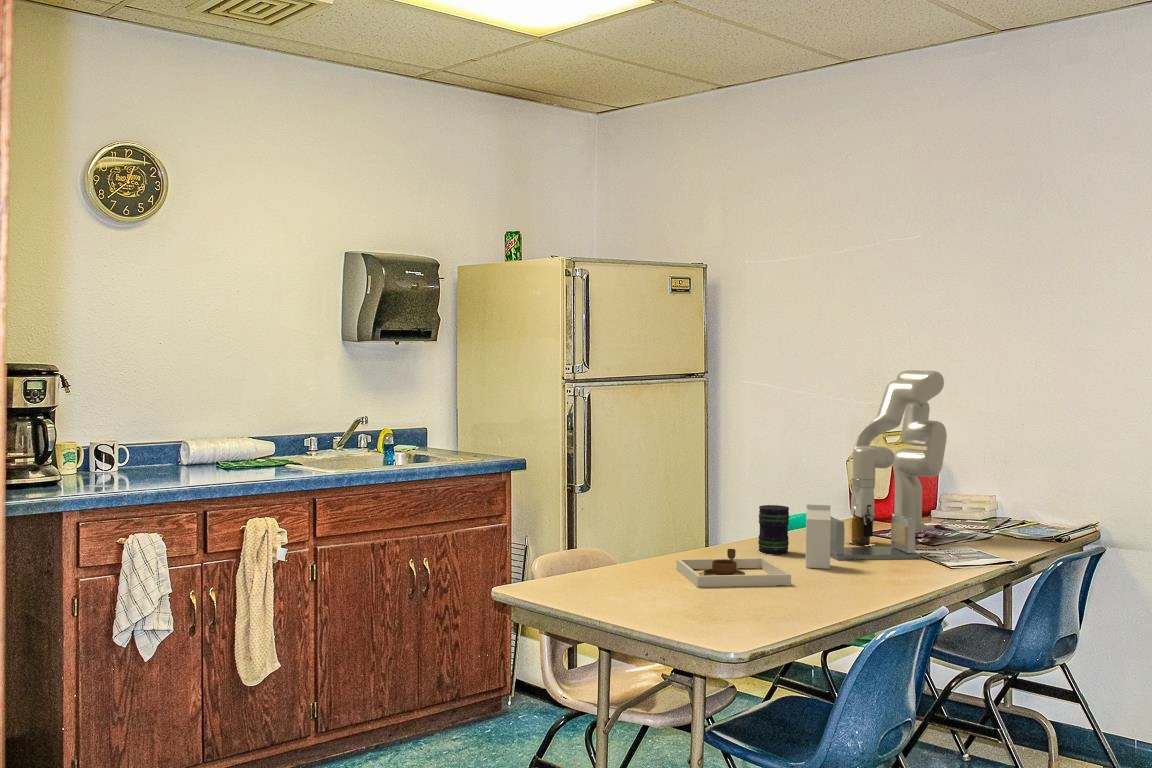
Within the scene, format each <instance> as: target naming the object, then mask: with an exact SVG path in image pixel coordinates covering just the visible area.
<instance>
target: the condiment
mask: <svg viewBox="0 0 1152 768" xmlns="http://www.w3.org/2000/svg"><path fill="white" fill-rule="evenodd" d="M853 515H854V516H853ZM853 515H852V519H851V520H852V521H851V543H852V544H854V546H858V547H862V546H861V545H869V543H870V542H871V537H864V536H863V525H865V524H864V520H863V517H862V518H860V517H857V516H856V515H855V511H854V514H853ZM865 516H869V515H865ZM866 520H867V519H866ZM849 543H850V542H847V543H846V544H848V545H850V544H849ZM852 544H851V545H852ZM865 547H868V546H865Z"/></svg>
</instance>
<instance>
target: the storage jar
mask: <svg viewBox="0 0 1152 768" xmlns="http://www.w3.org/2000/svg"><path fill="white" fill-rule="evenodd" d="M758 507H759V508H758V509H759V511H758V523H759V535H758V541H757V542H758V552H759V551H760V552H762V553H766V554H765V555H767V554H773V555H772V556H783V555H782V554H785V555H788V554H789V544H790V542H789V539H790V538H789V524H790V520H789V519H790V512H789V510H790V508H789V506H785V505H777V504H767V505H765V504H763V505H760V506H758ZM762 553H761V554H762ZM787 553H788V554H787Z"/></svg>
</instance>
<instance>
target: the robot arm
mask: <svg viewBox="0 0 1152 768" xmlns="http://www.w3.org/2000/svg"><path fill="white" fill-rule="evenodd" d="M944 385H945V378H944V376H943V374H942V373H941V372H939V371H936V370H935V371H934V370H913V369H912V370H903V371H900V372H899V373H898V374H897V376H896V380H893V381H890V382H889V383H888V384H887V385H886V387H885V390H884V393H883V396H882V400H881V403H880V406H879V407H878V412H877V414H876V417H874V419H872V420H871V421H870V422H869V423H867V425H865V427H864V428H862V430H861V431H860V432H859V433H858V435H857V438H856V439H855V440H856V441H855V444H854V446H853V451H852V481H851V482H852V486H851V487H852V491H851V498H850V513H851V515H852V517H853V516H854V515H853V514H854V511H855V515H856V516H857V517H860V518H862V517H863V520H864V524H865V525H863V536H864V537H870V538H872V537H874V536H873V533H874V531H873V529H874V522H875V517H876V514H875V493H874V492H875V491H874V490H875V489H876V469H888V468H890V467H891V466H892V468H893V469H892V470H893V474H894V507H893V508H894V510H893V511H894V513H893V514H901V515H904V516H907V517H910V518H913V519H916V524H915V533H919V532H922V531H924V532H926V531H928V532H929V531H932V532H933V531H935V529H936V528H935V526H934V525H933V524H932V525H930V524H929V525H928V524H925V523H922V521H923V518H922V517H923V513H922V512H923V486H922V483H921V481H920V479H919V477H925V478H933V477H934V478H935V477H937V476H939V474H940V473H941V471H942V468H943V464H944V456H945V450H946V446H947V445H946V444H947V435H948V434H947V429H946V426H945V425H944V423H942V422H941V421H938V420H929V417H930V412H931V411H930V404H929V401H930V400H932V399H933V398H935V397H936V396H938V395H940V393H942V391H943V388H944ZM902 421H903V422H902ZM901 423H902V427H901V440H902V443H903V444H905V445H908V446H913V447H914V446H915V447H926V449H920V448H899V449H898V450H896V451H895V452H893V450H892V449H890V448H889V447H885V446H876V445H871V443H872V442H873V441H874V440H875V438H877V437H878V436H880V435H882V434H885V433H886V432H890V431H892V430H895V429H896V428H899V426H900V425H901ZM865 515H869V516H865ZM866 519H867V520H866ZM890 533H891V530H889V534H890Z"/></svg>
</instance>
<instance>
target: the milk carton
mask: <svg viewBox="0 0 1152 768" xmlns="http://www.w3.org/2000/svg"><path fill="white" fill-rule="evenodd" d="M831 515H832V514H831V505H830V504H829V505H827V504H806V514H805V520H806V521H805V568H808V569H824V570H825V569H826V570H827V569H828V570H829V569H831V564H830V563H831V557H830V527H831V517H832V516H831Z"/></svg>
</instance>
